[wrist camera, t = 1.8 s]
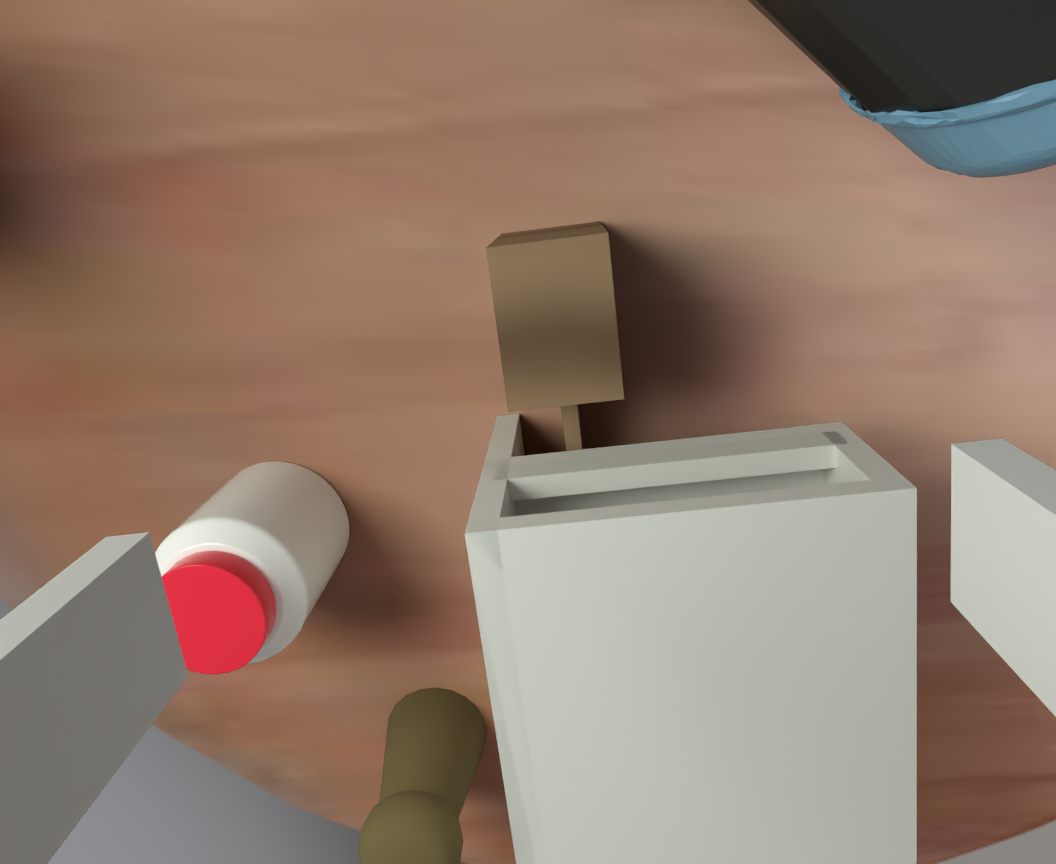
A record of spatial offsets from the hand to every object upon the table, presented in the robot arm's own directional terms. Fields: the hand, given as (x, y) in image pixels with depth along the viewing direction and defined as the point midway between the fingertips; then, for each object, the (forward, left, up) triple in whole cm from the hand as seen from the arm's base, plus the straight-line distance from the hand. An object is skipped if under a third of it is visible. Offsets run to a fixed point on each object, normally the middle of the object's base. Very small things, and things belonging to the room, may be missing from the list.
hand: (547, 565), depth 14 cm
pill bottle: (+11, -17, -32) cm, 38 cm away
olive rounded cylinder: (+25, -10, -32) cm, 42 cm away
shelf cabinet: (+17, +4, -32) cm, 36 cm away
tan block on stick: (+6, 0, -32) cm, 32 cm away
